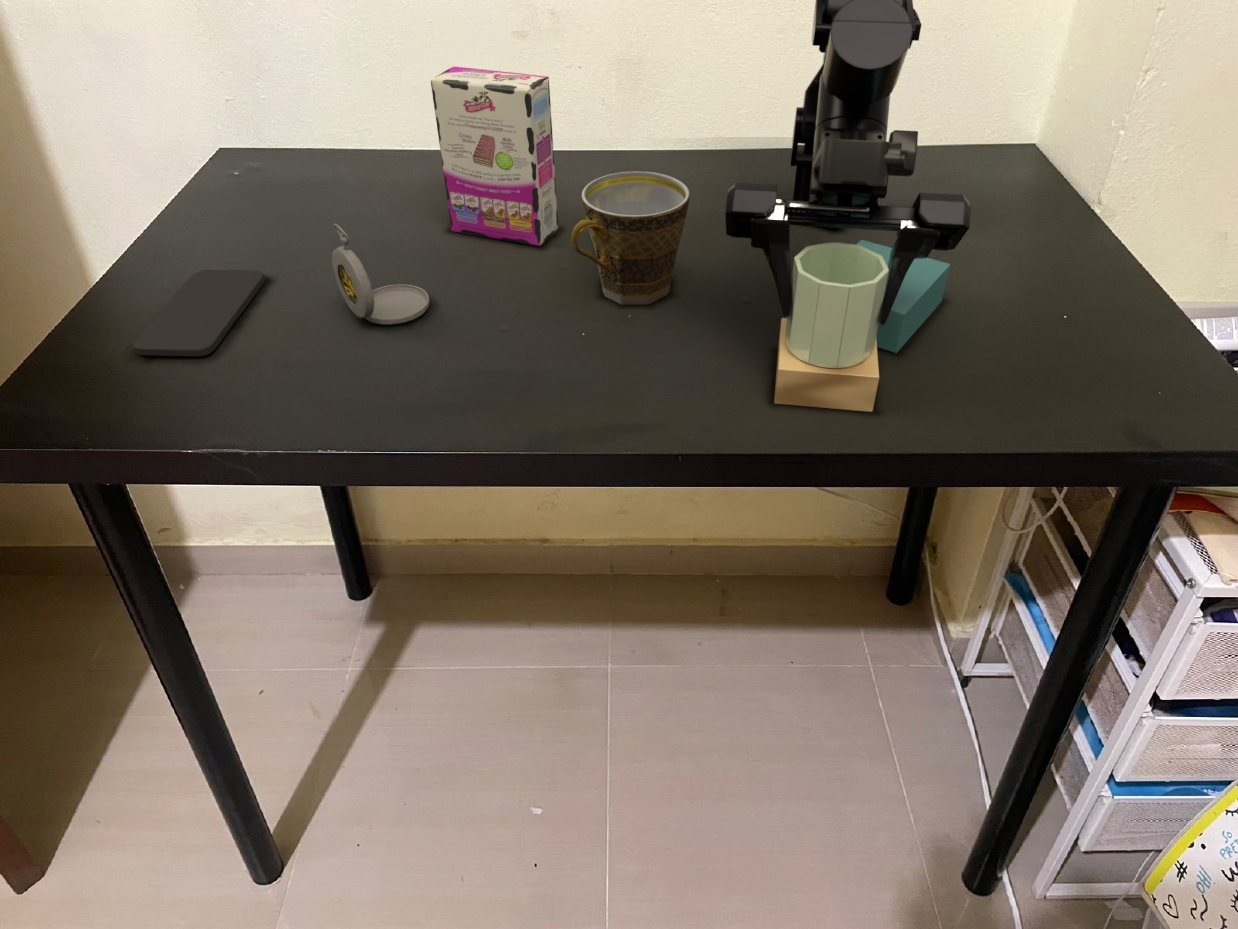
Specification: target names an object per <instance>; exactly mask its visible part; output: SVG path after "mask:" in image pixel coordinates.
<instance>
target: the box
mask: <svg viewBox="0 0 1238 929" xmlns="http://www.w3.org/2000/svg"><path fill="white" fill-rule="evenodd" d="M855 245H860V246H863V247H865V248H867V249H869V250H871V251H873V252H875V253H877V254H879V255H881V256H883V258H884V260H885V263H886V265H887V267H888V263H889V258H890V253H891V250H892V248H893V247H889V246H886V245H883V244H879V243H875V242H871V241H868V240H865V239H860V240H859V241H858V242H857V243H856V244H855ZM950 270H951V263H948V262H945V261H941V260H937V259H933V258H930V257H927V258H923V259H917V258H916V259H914V260H913V262H912V264H911V266H910V267H909V269H908V271H907V273H906V275H905V277H904V280H903V282H902V285H901V287H900V289H899V292H898V294H897V297H896V299H895V301H894V304H893V306H892V309H891V311H890V313H889V316H888V318H887V321H886V323H885V324H884V326H881V325H879V324H878V329H877V334H876V341H877V348H879V349H883V350H885V351H888V352H892V353H894V354H897V353H898V352H899V351H900V350H901V349H902V348H903V347H904V345H905V344H906V343H907V342H908V341H909V340H910V339H911V337H913V335H914V334H915V333H916V332H917V330H919V328H921V326H922V325H923V324H924V323H925V321H926V320H928V318H929V317H930V316H931V315H932V313H933V312H934V311H935V310H936V309H937V308H938V306H940V304H942V302H943V299H944V294H945V291H946V290H945V289H946V286H947V283H948V282H947V281H948V277H949V273H950Z"/></svg>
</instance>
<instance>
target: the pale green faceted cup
mask: <svg viewBox="0 0 1238 929" xmlns="http://www.w3.org/2000/svg"><path fill="white" fill-rule="evenodd" d="M888 272H889V269H888V267H887V265H886V263H885V260H884V258H883V256H881V255H879V254H877V253H875V252H873V251H871V250H869V249H867V248H865V247H863V246H860V245H856V244H854V243H845V242H837V241H829V242H823V243H817V244H811V245H808V246H806V247H805V248H804V249H802V250H801V251H800V252H798V254H796V255H795V256H794V257H793V265H792V273H791V303H790V313H789V318H788V319H787V323H786V332H785V336H786V344H787V347H788V349H789V350H790V352H791V353H792V354H793V355H794V356H795V357H797V358H798V359H800V360H802V361H804V362H806V363H808V364H811V365H815V366H819V367H825V368H845V367H850V366H854V365H857V364H859V363H861V362H863V361H864V360H866V359H867V358H868V356H869V355H870V353H871V351H872V350H873V349H874V345H875V340H876V334H877V329H878V324H879V318H880V313H881V307H882V303H883V298H884V293H885V287H886V282H887V277H888Z"/></svg>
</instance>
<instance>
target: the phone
mask: <svg viewBox="0 0 1238 929" xmlns="http://www.w3.org/2000/svg"><path fill="white" fill-rule="evenodd" d="M265 281H266V279H265V275H264V273H263V271H260V270H249V269H248V270H247V269H246V270H245V269H244V270H243V269H241V270H239V269H238V270H237V269H203V270H202V269H201V270H198V271H196V272H194V273H193V274H192V275H191V276H190V277H189V278H188V279H187V281H186V282H185V283H184V284H183V285H182V286H181V287H180V289H179V290H178V291H177V292H176V293H175V294H174V296H173V297H172V298H171V299H170V300H169V301H168V302H167V304H165V306H164V307H163V308H162V309H161V310H160V312H158V314H157V315H156V316H155V317H154V318H153V320H151V322H150V323H149V324H148V326H147V327H146V328H145V329H144V330H143V331H142V332H141V334H139V336H138V337H137V338H136V339H135V340H134V342H133V344H132V346H133V349H134V351H135V353H136V354H137V355H140V356H141V355H142V356H161V357H162V356H163V357H168V356H169V357H204V356H207V355H210V354H211V353H212V352H214V351H215V350H216V349H217V347H218V346H219V345H220V344H221V342H222V341H223V339H224V338H225V336H226V335H227V333H228V332H229V331H230V329H231V328H232V327H233V326H234V324H235V323H236V322H237V320H238V319H239V318H240V316H241V314H243V312H244V311H245V310H246V308H247V306H248V305H249V304H250V302H251V301H252V300H253V298H254V297H255V296H256V294H257V293H258V291H259V290H260V289H261V287H262V286H263V285H264V283H265Z"/></svg>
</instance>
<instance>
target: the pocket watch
mask: <svg viewBox="0 0 1238 929" xmlns="http://www.w3.org/2000/svg"><path fill="white" fill-rule="evenodd" d="M332 226H333V228H334V230H335V233H337V235H338V236H339V241H340V242H341V243H342V245H340V246H338V247H336V249H334V250H333V251H332V255H331V263H332V269H333V274H334V277H335V281H336V284H337V286H338V289H339V291H340V293H341V295H342V297H343V299H344V301H345V303H346V304H347V306H348V307H349V309H350V310H351V311H352V313H353V314H354V315H355V316H357V317H358V318H361V319H362V318H363V319H365V320H367V321H368V322H370V323H372V324H373V323H374V324H377V325H389V326H393V325H398V324H399V325H400V324H405V323H407V322H410V321H413V320H416V319H417V318H419V317H420V316H422V315H424V313H425V312H426V311H427V310H428V308H429V306H430V296H429V294H428V292H427V291H426V290H425V289H424V288H422V287H419V286H417V285H413V284H405V283H404V284H403V283H401V284H400V283H399V284H389V285H384V286H380V287H377V288H375V289H373V288H372V283H371V281H370V277H369V275H368V273H367V270H366V269H365V267H364V265H363V264H362V262H361V260H360V259H359V257H358V256H357V255H356V254H355V252H354V251H353V250H352V249H351V247H350V242H351V239H350V237H349V235H347V232H346V231H344V229H343V228H342V227H341V226H340V225H339V224H337V223H336V222H335V223H333V225H332Z"/></svg>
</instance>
